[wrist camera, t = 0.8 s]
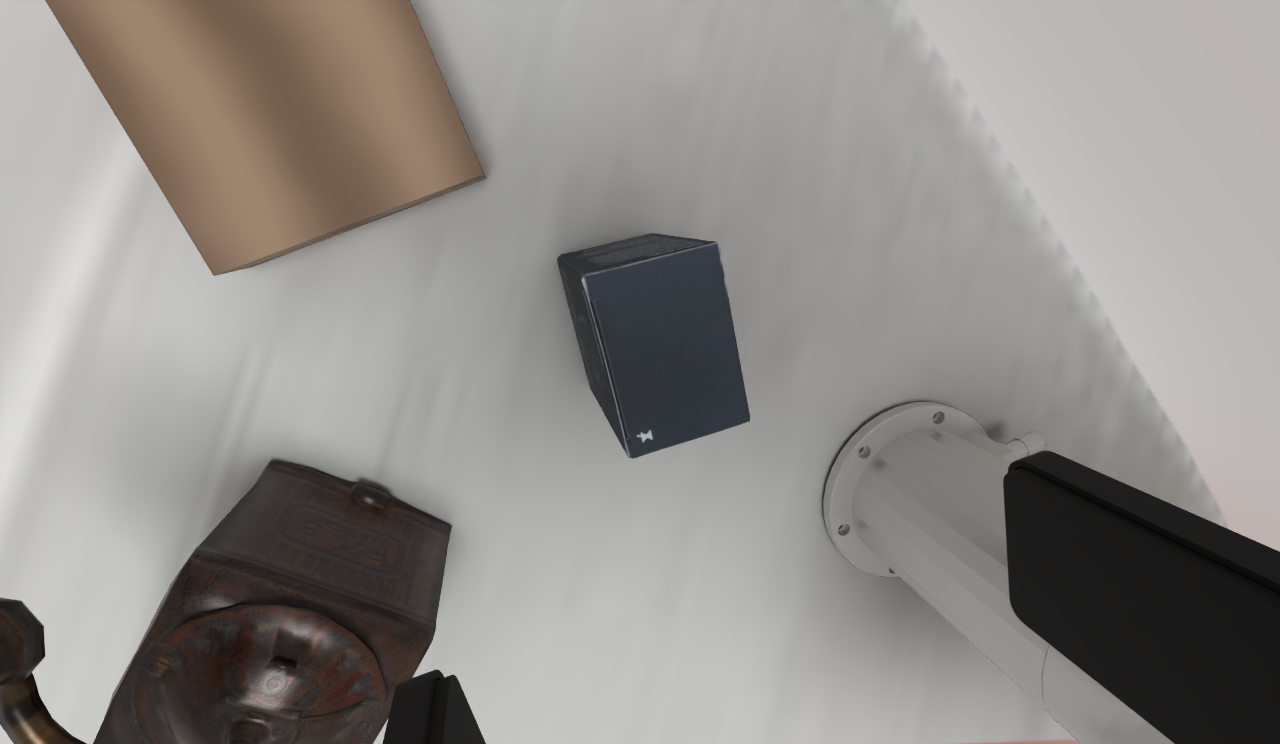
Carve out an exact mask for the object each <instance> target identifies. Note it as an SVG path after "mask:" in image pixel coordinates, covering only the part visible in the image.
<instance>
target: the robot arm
mask: <svg viewBox="0 0 1280 744" xmlns="http://www.w3.org/2000/svg"><path fill="white" fill-rule="evenodd" d="M1045 445H1046V444H1045V442H1044V439H1043V438H1042V437H1041V435H1040V434H1038V433H1037V432H1035V431H1030V432H1028V433H1025V434H1023V435H1021V436H1019V437H1017V438H1015V439H1013V440H1012V441H1011V442H1009V443H1007V444H1004V443H998V442H995V441H993V440H991V439H989V438H988V436H987V435H986V433H985V432H984V430H983V428H982V427H981V426H980V425H979V424H978V423H977V422H976V421H975V420H974V419H973V418H972V417H970V416H968V415H966V414H965V413H963V412H961V411H959V410H957V409H954V408H952V407H949V406H947V405H944V404H940V403H934V402H914V403H909V404H905V405H901V406H897V407H895V408H893V409H890V410H888V411H886V412H884V413H882V414H880V415H878V416H877V417H875V418H874V419H872V420H871V421H869V422H868V423H867V424H865V425H864V426H863V427H862V428H861V429H860V430H859V431H858V432H857V433H856V434H855V435H854V436H852V438H851V439H850V440H849V441H848V443H847V444H846V445H845V447H844V448H843V449H842V450H841V452H840V454H839V456H838V457H837V459H836V461H835V463H834V465H833V466H832V469H831V472H830V474H829V477H828V480H827V483H826V488H825V494H824V500H823V505H824V520H825V524H826V528H827V532H828V534H829V536H830V538H831V540H832V542H833V544H834V545H835V546H836V548H837V549H838V550H839V551H840V552H841V554H842V555H843V556H844V557H845V558H846V559H848V560H849V561H850V562H851V563H852V564H853V565H854V566H856V567H857V568H859V569H861V570H863V571H865V572H866V573H870V574H873V575H877V576H881V577H900V578H901V579H902V580H904V581H905V582H906V583H907V584H908V585H909V586H910V587H911V588H912V589H913V590H914V591H915V592H917V593H918V594H919V595H920V596H921V597H922V598H923V599H924V600H925V601H926V602H927V603H928V604H930V605H931V606H932V607H933V608H934V609H935V610H936V611H937V612H938V613H939V614H940V615H941V616H943V617H944V618H945V619H946V620H947V621H948V622H949V623H950V624H951V625H952V626H953V627H954V628H956V629H957V630H958V631H959V632H960V633H961V634H962V635H963V636H964V637H965V638H966V639H967V640H968V641H970V642H971V643H972V644H973V645H974V646H975V647H976V648H977V649H978V650H979V651H980V652H981V653H983V654H984V655H985V656H986V657H987V658H988V659H989V660H990V661H991V662H992V663H993V664H994V665H996V666H997V667H998V668H999V669H1000V670H1001V671H1002V672H1003V673H1004V674H1005V675H1006V676H1007V677H1009V678H1010V679H1011V680H1012V681H1013V682H1014V683H1015V684H1016V685H1017V686H1018V687H1019V688H1020V689H1022V690H1023V691H1024V692H1025V693H1026V694H1027V695H1028V696H1029V697H1030V698H1031V699H1032V700H1033V701H1035V702H1036V703H1037V704H1038V705H1039V706H1040V707H1041V708H1042V709H1043V710H1044V711H1045V712H1046V713H1048V714H1049V715H1050V716H1051V717H1052V718H1053V719H1054V720H1055V721H1056V722H1058V723H1059V724H1060V725H1061V726H1062V727H1063V728H1064V729H1065V730H1066V731H1068V732H1069V733H1070V734H1071V735H1072V736H1073V737H1074V738H1075V739H1076V740H1077V741H1078V742H1080V743H1081V744H1280V552H1279V551H1277V550H1274V549H1272V548H1270V547H1268V546H1265V545H1263V544H1261V543H1258V542H1256V541H1254V540H1251V539H1249V538H1247V537H1245V536H1242V535H1240V534H1238V533H1236V532H1233V531H1231V530H1229V529H1227V528H1224V527H1222V526H1220V525H1218V524H1215V523H1213V522H1211V521H1208V520H1206V519H1204V518H1202V517H1199V516H1197V515H1195V514H1193V513H1190V512H1188V511H1186V510H1183V509H1181V508H1179V507H1177V506H1174V505H1172V504H1170V503H1167V502H1165V501H1163V500H1161V499H1158V498H1156V497H1154V496H1152V495H1149V494H1147V493H1145V492H1142V491H1140V490H1138V489H1136V488H1133V487H1131V486H1129V485H1127V484H1124V483H1122V482H1120V481H1117V480H1115V479H1113V478H1111V477H1108V476H1106V475H1104V474H1102V473H1099V472H1097V471H1095V470H1092V469H1090V468H1088V467H1086V466H1083V465H1081V464H1079V463H1077V462H1074V461H1072V460H1070V459H1067V458H1065V457H1063V456H1061V455H1058V454H1056V453H1054V452H1050V451H1041V450H1043V449H1045ZM1039 451H1041V452H1039ZM1037 452H1038V453H1037ZM383 744H486V743H485V741H484V738H483V736H482V734H481V732H480V729H479V727H478V725H477V722H476V720H475V718H474V715H473V713H472V711H471V708H470V706H469V704H468V702H467V699H466V697H465V695H464V692H463V690H462V688H461V685H460V683H459V681H458V679H457V677H456V676H455V675H450V676H448V677H445V678H444V676H443V674H442V673H441V672H440V671H439V670H434V671H431V672H428V673H425V674H422V675H420V676H417V677H414V678H411V679H409V680H406V681H403V682H400V683H399V684H398V685H397V686H396V689H395V692H394V696H393V700H392V705H391V709H390V714H389V718H388V722H387V727H386V731H385V736H384V740H383Z"/></svg>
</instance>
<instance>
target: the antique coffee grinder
mask: <svg viewBox="0 0 1280 744" xmlns="http://www.w3.org/2000/svg"><path fill="white" fill-rule="evenodd" d="M451 527H452V526H450V525H448V524H446V523H444V522H442V521H440V520H437V519H435V518H433V517H431V516H429V515H427V514H425V513H422V512H420V511H418V510H416V509H414V508H412V507H410V506H408V505H406V504H404V503H401V502H399V501H397V500H395V499H393V498H391V497H390V495H389V494H387V493H384V492H382V491H380V490H378V489H376V488H373V487H369V486H366V485H363V484H360V483H350V482H347V481H344V480H341V479H338V478H335V477H333V476H330V475H327V474H324V473H321V472H318V471H316V470H313V469H309V468H305V467H300V466H296V465H291V464H286V463H282V462H277V461H273V460H272V461H270V462H269V463H268V465H267V466H266V468H265V470H264V471H263V473H262V474H261V476H260V477H259V479H258V481H257V482H256V484H255V485H254V486H253V487H252V488H251V490H250V491H249V492H248V493H247V494H246V495H245V496H244V497H243V498H242V499H241V500H240V501H239V503H238V504H237V505H236V506H235V507H234V508H233V509H232V510H231V511H230V512H229V513H228V515H227V516H226V517H225V518H224V519H223V520H222V521H221V522H220V523H219V525H218V526H217V527H216V528H215V529H214V530H213V531H212V532H211V533H210V534H209V536H208V537H207V538H206V539H205V540H204V541H203V542H202V543H201V544H200V545H199V546H198V547H197V548H196V549H195V551H194V552H193V554H192V555H191V556H190V558H189V559H188V561H187V562H186V563H185V565H184V566H183V568H182V569H181V570H180V572H179V573H178V575H177V576H176V577H175V579H174V580H173V582H172V583H171V585H170V587H169V589H168V591H167V593H166V595H165V596H164V598H163V600H162V602H161V603H160V605H159V607H158V609H157V611H156V613H155V615H154V617H153V619H152V621H151V623H150V625H149V627H148V629H147V631H146V633H145V635H144V637H143V639H142V641H141V643H140V645H139V647H138V649H137V651H136V653H135V655H134V656H133V658H132V660H131V662H130V664H129V665H128V667H127V669H126V671H125V673H124V674H123V676H122V678H121V680H120V682H119V683H118V685H117V687H116V689H115V691H114V692H113V695H112V698H111V701H110V704H109V706H108V709H107V712H106V715H105V718H104V721H103V723H102V725H101V727H100V730H99V732H98V734H97V736H96V738H95V741H94V743H93V744H373V743H374V741H375V740H376V738H377V736H378V735H379V733H380V731H381V730H382V728H383V726H384V724H385V723H386V721H387V719H388V718H389V714H390V709H391V705H392V700H393V696H394V692H395V689H396V686H397V685H398V684H399V683H400V682H403V681H406V680H409V679H411V678H413V676H414V674H415V672H416V670H417V668H418V666H419V665H420V663H421V661H422V659H423V657H424V655H425V653H426V652H427V650H428V648H429V646H430V644H431V642H432V640H433V637H434V633H435V629H436V618H437V612H438V606H439V600H440V594H441V588H442V582H443V575H444V568H445V562H446V555H447V547H448V542H449V538H450V532H451ZM44 657H45V645H44V626H43V625H42V624H41V622H40V621H39V620H38V619H37V618H36V617H35V616H34V615H33V613H32V612H31V611H30V610H29V609H28V608H27V607H26V606H25V604H24V603H23V602H22V601H18V600H11V599H4V598H0V725H1V726H2V727H3V729H4V730H5V732H6V733H7V735H8V736H9V737H10V739H11V740H12V742H13V743H14V744H86V743H85V742H83V741H81V740H79V739H77V738H75V737H73V736H72V735H70V734H69V733H68V732H67V731H66V730H65V729H64V728H63V727H61V726H60V725H59V724H58V723H57V722H56V721H55V720H54V719H53V718H52V717H51V715H50V713H49V712H48V710H47V708H46V707H45V705H44V703H43V702H42V700H41V698H40V696H39V693H38V689H37V685H36V682H35V679H34V676H33V674H32V671H33V670H34V669H35V667H36V666H37V665H38V664H39V663H40V662H41V661H42V659H43V658H44Z"/></svg>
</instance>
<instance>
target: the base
mask: <svg viewBox="0 0 1280 744" xmlns="http://www.w3.org/2000/svg"><path fill="white" fill-rule="evenodd" d="M45 1H46V2H47V4H48V6H49V7H50V9H51V11H52V12H53V14H54V15H55V17H56V19H57V20H58V22H59V24H60V25H61V27H62V28H63V30H64V32H65V33H66V35H67V37H68V38H69V40H70V42H71V43H72V45H73V46H74V48H75V50H76V51H77V53H78V55H79V56H80V58H81V60H82V61H83V63H84V64H85V66H86V68H87V69H88V71H89V73H90V74H91V76H92V78H93V79H94V81H95V82H96V84H97V86H98V87H99V89H100V91H101V92H102V94H103V96H104V97H105V99H106V100H107V102H108V104H109V105H110V107H111V109H112V110H113V112H114V114H115V115H116V117H117V118H118V120H119V122H120V123H121V125H122V127H123V128H124V130H125V131H126V133H127V135H128V136H129V138H130V140H131V141H132V143H133V145H134V146H135V148H136V149H137V151H138V153H139V154H140V156H141V158H142V159H143V161H144V163H145V164H146V166H147V167H148V169H149V171H150V172H151V174H152V176H153V177H154V179H155V181H156V182H157V184H158V185H159V187H160V189H161V190H162V192H163V194H164V195H165V197H166V199H167V200H168V202H169V203H170V205H171V207H172V208H173V210H174V212H175V213H176V215H177V217H178V218H179V220H180V221H181V223H182V225H183V226H184V228H185V230H186V231H187V233H188V234H189V236H190V238H191V239H192V241H193V243H194V244H195V246H196V248H197V249H198V251H199V252H200V254H201V256H202V257H203V259H204V261H205V262H206V264H207V266H208V267H209V269H210V270H211V272H212V274H213V275H214V276H215V275H219V274H224V273H228V272H233V271H237V270H241V269H246V268H250V267H253V266H256V265H259V264H261V263H264V262H267V261H269V260H272V259H274V258H277V257H280V256H282V255H285V254H288V253H290V252H293V251H296V250H298V249H301V248H304V247H306V246H309V245H312V244H314V243H317V242H319V241H322V240H325V239H327V238H330V237H333V236H335V235H338V234H341V233H343V232H346V231H349V230H351V229H354V228H357V227H359V226H362V225H364V224H367V223H370V222H372V221H375V220H378V219H380V218H383V217H386V216H388V215H391V214H394V213H396V212H399V211H402V210H404V209H407V208H409V207H412V206H415V205H417V204H420V203H423V202H425V201H428V200H431V199H433V198H436V197H439V196H441V195H444V194H447V193H449V192H452V191H454V190H457V189H460V188H462V187H465V186H468V185H470V184H473V183H476V182H478V181H481V180H484V179H486V177H485V175H484V172H483V170H482V168H481V165H480V163H479V161H478V158H477V156H476V154H475V151H474V149H473V147H472V144H471V142H470V140H469V137H468V135H467V133H466V130H465V128H464V126H463V123H462V121H461V119H460V116H459V114H458V112H457V109H456V107H455V105H454V102H453V100H452V98H451V95H450V93H449V91H448V88H447V86H446V84H445V81H444V79H443V77H442V74H441V72H440V70H439V67H438V65H437V63H436V60H435V58H434V56H433V53H432V51H431V49H430V46H429V44H428V42H427V39H426V37H425V35H424V32H423V30H422V28H421V25H420V23H419V21H418V18H417V16H416V14H415V11H414V9H413V7H412V4H411V2H410V0H45Z"/></svg>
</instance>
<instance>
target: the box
mask: <svg viewBox="0 0 1280 744" xmlns="http://www.w3.org/2000/svg"><path fill="white" fill-rule="evenodd" d="M558 266H559V270H560V274H561V278H562V281H563V285H564V289H565V294H566V297H567V301H568V305H569V309H570V313H571V316H572V320H573V324H574V328H575V332H576V336H577V340H578V343H579V347H580V351H581V355H582V358H583V362H584V366H585V370H586V374H587V377H588V381H589V385H590V388H591V390H592V392H593V394H594V396H595V398H596V399H597V401H598V403H599V405H600V407H601V408H602V410H603V412H604V414H605V416H606V418H607V419H608V421H609V423H610V425H611V427H612V429H613V430H614V432H615V434H616V436H617V438H618V440H619V442H620V443H621V445H622V447H623V449H624V450H625V452H626V454H627V455H628V457H629V458H637V457H640V456H643V455H645V454H649V453H652V452H655V451H658V450H661V449H664V448H667V447H671V446H674V445H677V444H680V443H684V442H687V441H690V440H693V439H697V438H700V437H703V436H706V435H710V434H713V433H716V432H719V431H722V430H725V429H728V428H731V427H734V426H737V425H740V424H743V423H746V422H749V421H750V414H749V409H748V403H747V398H746V393H745V387H744V382H743V376H742V371H741V365H740V359H739V354H738V349H737V343H736V337H735V332H734V326H733V320H732V315H731V310H730V304H729V298H728V293H727V287H726V282H725V276H724V271H723V265H722V259H721V253H720V247H719V243H718V242H714V241H705V240H698V239H690V238H682V237H675V236H667V235H661V234H648V235H644V236H640V237H635V238H631V239H627V240H623V241H618V242H615V243H610V244H606V245H602V246H597V247H593V248H589V249H585V250H581V251H577V252H572V253H568V254H564V255H563V254H562V255H560V256H559V257H558Z"/></svg>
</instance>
